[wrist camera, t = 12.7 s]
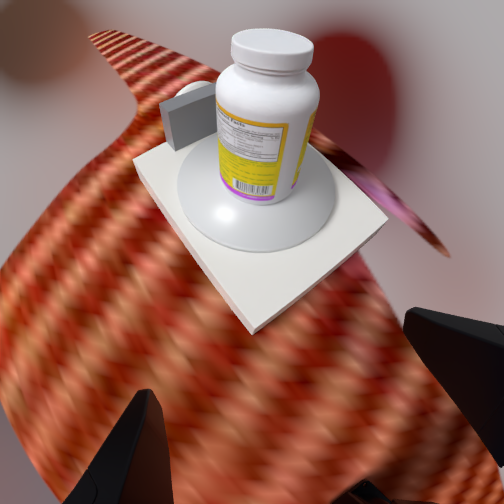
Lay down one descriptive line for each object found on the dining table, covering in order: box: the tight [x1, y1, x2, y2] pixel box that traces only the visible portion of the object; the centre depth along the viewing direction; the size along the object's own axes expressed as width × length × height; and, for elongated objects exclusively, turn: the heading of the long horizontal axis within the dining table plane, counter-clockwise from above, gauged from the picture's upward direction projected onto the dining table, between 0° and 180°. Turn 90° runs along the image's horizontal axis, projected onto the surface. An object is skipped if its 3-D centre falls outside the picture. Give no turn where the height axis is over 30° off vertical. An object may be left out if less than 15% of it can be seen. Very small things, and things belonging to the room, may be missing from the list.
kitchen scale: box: [133, 81, 388, 335], centre depth 23 cm, size 21×16×8 cm
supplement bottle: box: [216, 28, 319, 205], centre depth 18 cm, size 7×7×13 cm
